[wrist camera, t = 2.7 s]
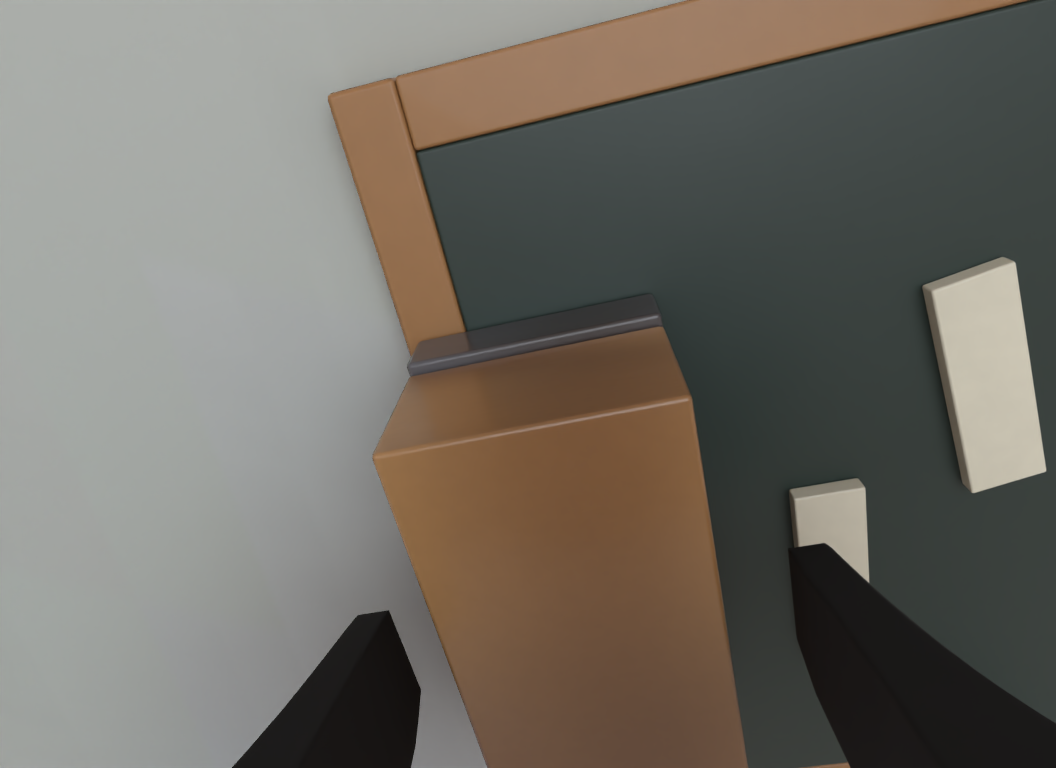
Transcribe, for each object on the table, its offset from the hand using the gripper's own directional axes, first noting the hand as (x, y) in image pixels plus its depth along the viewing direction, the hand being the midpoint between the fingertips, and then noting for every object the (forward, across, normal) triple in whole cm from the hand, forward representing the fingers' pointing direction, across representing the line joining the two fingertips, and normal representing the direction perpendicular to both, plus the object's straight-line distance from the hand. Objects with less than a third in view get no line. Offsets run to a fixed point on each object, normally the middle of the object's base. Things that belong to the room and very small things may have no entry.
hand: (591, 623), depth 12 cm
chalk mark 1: (+3, -5, +2) cm, 6 cm away
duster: (+3, 0, 0) cm, 3 cm away
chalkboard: (+4, -4, 0) cm, 5 cm away
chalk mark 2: (+3, -8, -2) cm, 9 cm away
